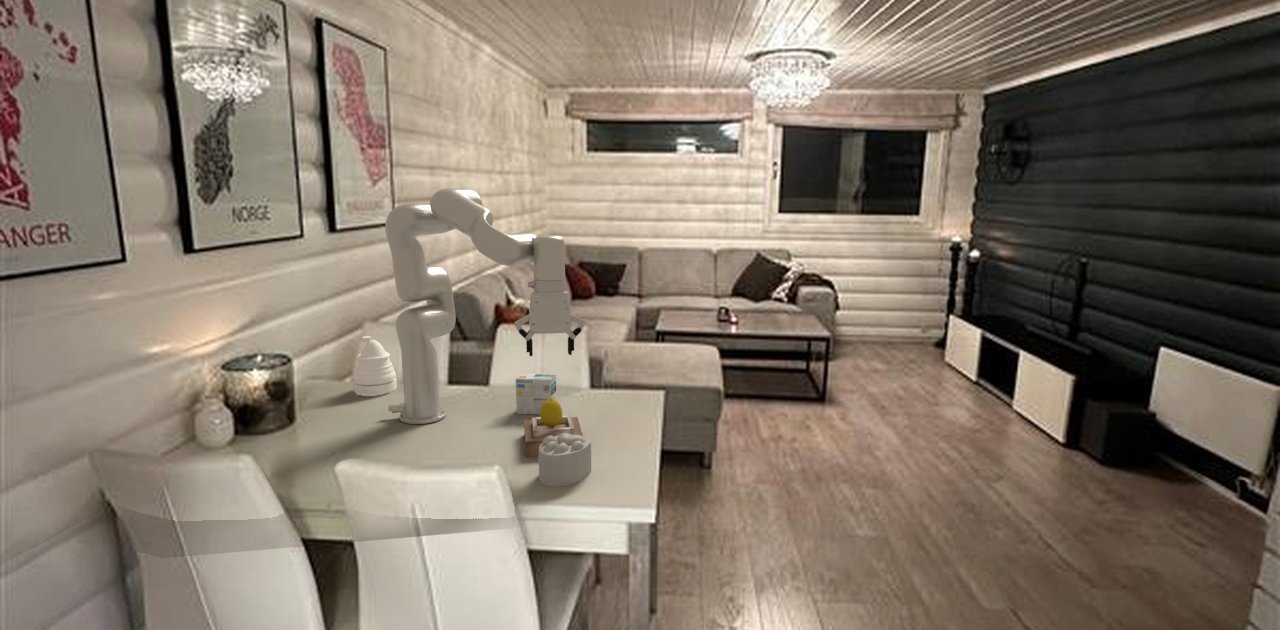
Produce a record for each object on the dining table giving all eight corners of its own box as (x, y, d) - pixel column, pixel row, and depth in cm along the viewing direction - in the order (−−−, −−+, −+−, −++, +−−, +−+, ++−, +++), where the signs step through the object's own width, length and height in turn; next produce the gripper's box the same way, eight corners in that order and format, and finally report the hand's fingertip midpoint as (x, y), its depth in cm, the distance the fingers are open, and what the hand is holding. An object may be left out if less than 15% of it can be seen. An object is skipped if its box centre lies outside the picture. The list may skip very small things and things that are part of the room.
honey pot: (371, 399, 213) (367, 342, 209) (345, 392, 220) (341, 337, 216) (405, 389, 223) (402, 334, 220) (380, 383, 230) (376, 330, 227)
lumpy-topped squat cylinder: (597, 468, 161) (596, 433, 159) (568, 490, 149) (567, 452, 147) (558, 461, 165) (558, 426, 163) (527, 482, 153) (526, 445, 152)
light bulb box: (557, 408, 204) (556, 373, 202) (552, 415, 198) (551, 379, 196) (522, 407, 205) (521, 372, 203) (515, 414, 199) (514, 378, 197)
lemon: (566, 426, 177) (565, 396, 176) (556, 433, 172) (556, 402, 170) (546, 423, 179) (545, 394, 177) (536, 430, 174) (535, 400, 172)
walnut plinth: (526, 457, 167) (525, 435, 166) (524, 434, 182) (524, 414, 181) (583, 453, 170) (583, 432, 169) (577, 431, 185) (577, 411, 184)
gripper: (513, 289, 164) (515, 359, 167) (586, 288, 167) (586, 356, 170) (513, 284, 171) (515, 351, 174) (583, 283, 174) (583, 349, 177)
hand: (550, 354), depth 172 cm, fingers open, 9 cm apart
